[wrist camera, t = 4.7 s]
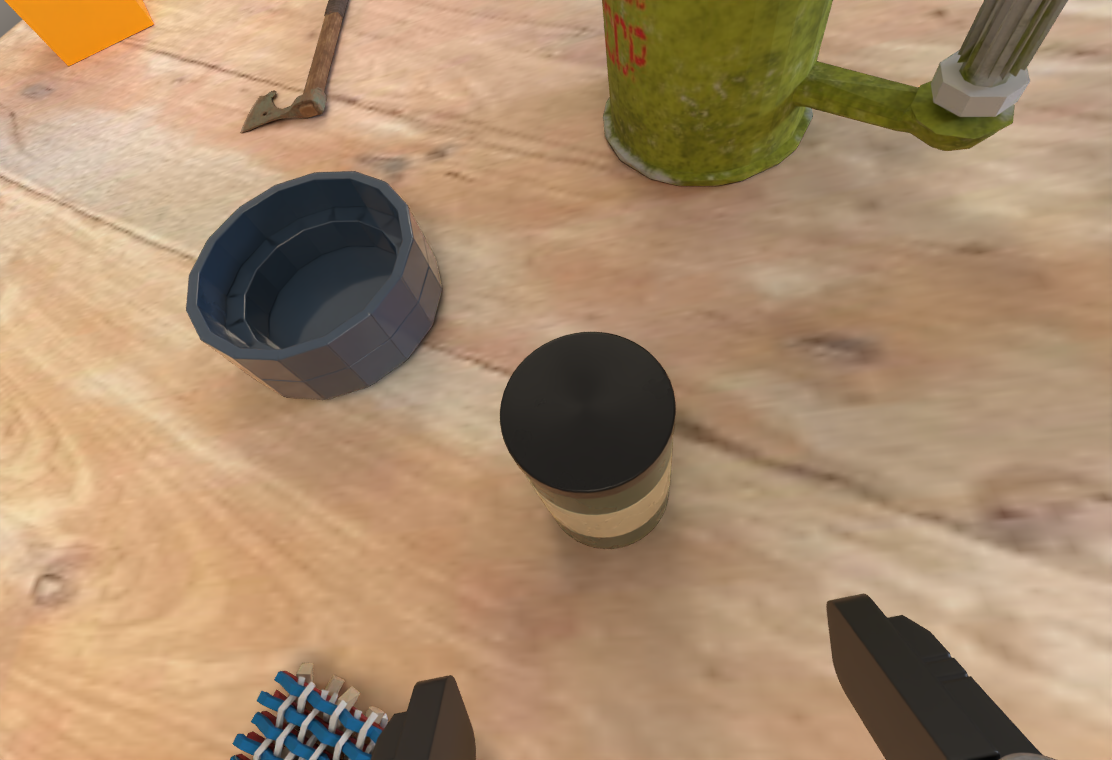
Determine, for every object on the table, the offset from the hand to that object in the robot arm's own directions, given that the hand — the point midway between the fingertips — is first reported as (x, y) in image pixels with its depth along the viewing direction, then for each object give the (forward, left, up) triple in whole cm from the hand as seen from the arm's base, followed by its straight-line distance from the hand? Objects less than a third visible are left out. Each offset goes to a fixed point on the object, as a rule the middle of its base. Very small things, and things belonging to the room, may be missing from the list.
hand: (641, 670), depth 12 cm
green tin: (-6, -5, -12) cm, 14 cm away
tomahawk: (-28, -43, -12) cm, 53 cm away
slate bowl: (-8, -24, -12) cm, 28 cm away
